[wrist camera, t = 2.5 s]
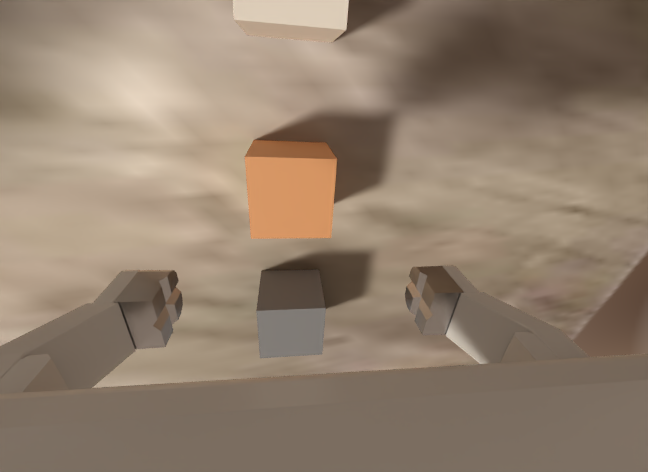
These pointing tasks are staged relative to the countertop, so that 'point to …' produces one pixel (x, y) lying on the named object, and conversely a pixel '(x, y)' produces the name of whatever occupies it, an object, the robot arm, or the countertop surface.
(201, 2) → the countertop surface
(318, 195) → the terracotta cube
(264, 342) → the charcoal cube
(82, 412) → the robot arm
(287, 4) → the offwhite cube
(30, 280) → the countertop surface
